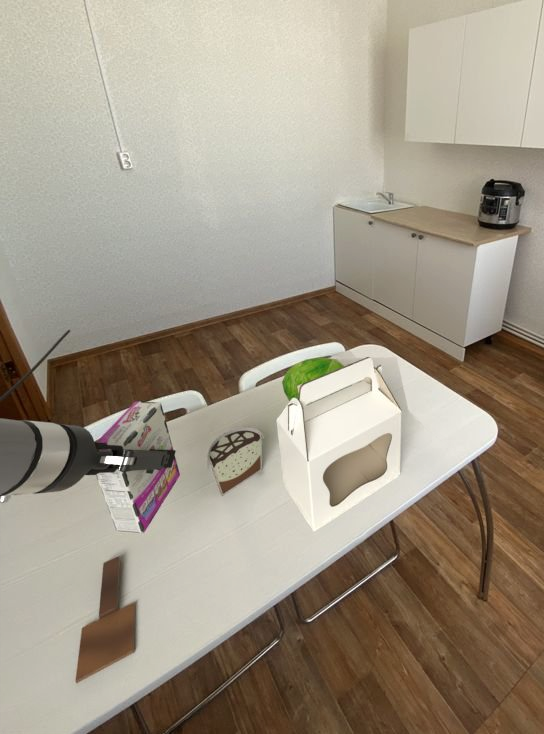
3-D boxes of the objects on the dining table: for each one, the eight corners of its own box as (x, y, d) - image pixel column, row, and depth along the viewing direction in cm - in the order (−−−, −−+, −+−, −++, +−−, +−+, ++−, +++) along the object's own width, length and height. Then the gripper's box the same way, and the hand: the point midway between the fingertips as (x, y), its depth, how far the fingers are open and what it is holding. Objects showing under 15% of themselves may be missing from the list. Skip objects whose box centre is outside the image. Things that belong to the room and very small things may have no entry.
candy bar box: (155, 474, 70) (135, 399, 64) (181, 475, 69) (163, 400, 64) (113, 533, 59) (84, 450, 54) (143, 535, 59) (118, 452, 53)
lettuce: (362, 386, 113) (330, 340, 115) (364, 398, 93) (325, 341, 95) (314, 421, 112) (283, 373, 113) (306, 440, 92) (268, 382, 94)
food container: (253, 451, 91) (248, 417, 87) (267, 466, 87) (263, 431, 83) (202, 482, 83) (195, 446, 79) (215, 500, 79) (208, 463, 75)
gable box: (365, 439, 94) (363, 339, 84) (401, 474, 84) (404, 365, 74) (282, 485, 82) (269, 374, 72) (312, 533, 72) (302, 411, 62)
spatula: (89, 574, 66) (87, 569, 65) (135, 554, 69) (134, 549, 68) (76, 683, 52) (73, 678, 52) (134, 652, 55) (132, 647, 55)
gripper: (-42, 487, 44) (100, 477, 65) (101, 501, 42) (200, 486, 63) (-11, 418, 47) (115, 430, 68) (123, 428, 45) (210, 437, 66)
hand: (155, 457), depth 66 cm, fingers closed on candy bar box, 5 cm apart
